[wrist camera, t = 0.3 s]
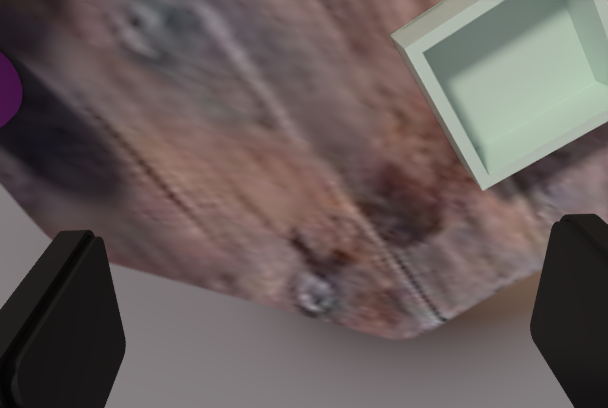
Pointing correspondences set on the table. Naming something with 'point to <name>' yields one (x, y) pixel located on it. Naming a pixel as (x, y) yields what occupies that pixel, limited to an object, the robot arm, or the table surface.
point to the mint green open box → (510, 77)
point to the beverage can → (9, 90)
